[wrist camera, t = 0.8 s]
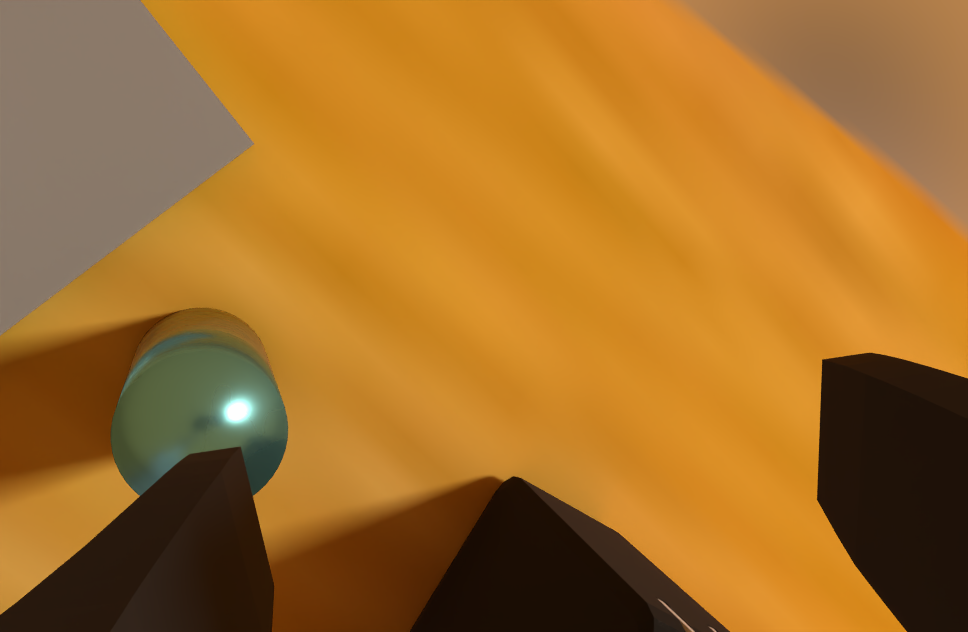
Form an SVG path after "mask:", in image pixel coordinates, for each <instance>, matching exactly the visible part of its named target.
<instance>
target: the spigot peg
mask: <svg viewBox="0 0 968 632" xmlns="http://www.w3.org/2000/svg"><path fill="white" fill-rule="evenodd" d="M287 438H288V422H287V415H286V411H285V407H284V404H283V401H282V398H281V395H280V392H279V389H278V387H277V384H276V381H275V378H274V375H273V372H272V369H271V366H270V363H269V360H268V357H267V354H266V352H265V349H264V347H263V344H262V342H261V341H260V339H259V337H258V336H257V335H256V333H255V332H254V331H253V330H252V329H251V328H250V327H249V326H248V325H247V324H246V323H245V322H243V321H242V320H241V319H239V318H237V317H236V316H234V315H232V314H229V313H227V312H224V311H221V310H217V309H211V308H192V309H186V310H182V311H179V312H176V313H173V314H171V315H169V316H167V317H165V318H164V319H162V320H161V321H159V322H158V323H156V324H155V325H154V326H153V327H152V328H151V329H150V330H149V331H148V332H147V333H146V335H145V336H144V337H143V339H142V340H141V342H140V344H139V346H138V348H137V350H136V353H135V355H134V358H133V361H132V364H131V367H130V370H129V373H128V375H127V378H126V381H125V384H124V387H123V390H122V393H121V395H120V398H119V401H118V404H117V407H116V410H115V413H114V416H113V420H112V426H111V446H112V453H113V456H114V460H115V463H116V465H117V467H118V469H119V472H120V473H121V475H122V476H123V478H124V480H125V481H126V482H127V483H128V485H129V486H130V487H131V488H132V489H133V490H134V491H135V492H136V493H137V494H138V495H140V496H141V495H142V494H143V493H144V492H145V491H146V490H147V489H149V488H150V487H151V486H152V485H153V484H154V483H155V482H156V481H157V480H158V479H160V478H161V477H162V476H163V475H164V474H165V473H166V472H167V471H169V470H170V469H171V468H172V467H173V466H174V465H176V464H177V463H178V462H179V461H180V460H182V459H183V458H185V457H186V456H187V455H189V454H192V453H199V452H206V451H213V450H219V449H226V448H233V447H240V446H241V450H242V454H243V458H244V462H245V467H246V471H247V475H248V479H249V483H250V487H251V492H252V496H253V495H255V494H256V493H257V492H258V491H259V490H261V489H262V488H263V487H264V486H265V485H266V484H267V482H268V481H269V480H270V479H271V478H272V476H273V475H274V473H275V472H276V470H277V468H278V467H279V464H280V462H281V460H282V458H283V455H284V452H285V449H286V444H287Z"/></svg>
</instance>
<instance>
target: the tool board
mask: <svg viewBox="0 0 968 632" xmlns="http://www.w3.org/2000/svg"><path fill="white" fill-rule="evenodd" d="M253 144H254V143H253V142H252V141H251V139H250V138H249V137H248V136H247V134H246V133H245V132H244V131H243V129H242V128H241V127H240V126H239V124H238V123H237V122H236V120H235V119H234V118H233V117H232V115H231V114H230V113H229V112H228V110H227V109H226V108H225V107H224V105H223V104H222V103H221V102H220V100H219V99H218V98H217V97H216V95H215V94H214V93H213V92H212V90H211V89H210V88H209V86H208V85H207V84H206V83H205V81H204V80H203V79H202V78H201V76H200V75H199V74H198V73H197V71H196V70H195V69H194V68H193V66H192V65H191V64H190V63H189V61H188V60H187V59H186V58H185V56H184V55H183V54H182V53H181V51H180V50H179V49H178V47H177V46H176V45H175V44H174V42H173V41H172V40H171V39H170V37H169V36H168V35H167V34H166V32H165V31H164V30H163V29H162V27H161V26H160V25H159V24H158V22H157V21H156V20H155V19H154V17H153V16H152V15H151V14H150V12H149V11H148V10H147V8H146V7H145V6H144V5H143V3H142V2H141V1H140V0H0V335H1V334H3V333H4V332H5V331H7V330H8V329H9V328H11V327H12V326H13V325H15V324H16V323H17V322H19V321H20V320H21V319H23V318H24V317H25V316H27V315H28V314H29V313H31V312H32V311H33V310H35V309H36V308H37V307H39V306H40V305H41V304H43V303H44V302H45V301H46V300H48V299H49V298H50V297H52V296H53V295H54V294H56V293H57V292H58V291H60V290H61V289H62V288H64V287H65V286H66V285H68V284H69V283H70V282H72V281H73V280H74V279H76V278H77V277H78V276H80V275H81V274H82V273H84V272H85V271H86V270H88V269H89V268H90V267H92V266H93V265H94V264H95V263H97V262H98V261H99V260H101V259H102V258H103V257H105V256H106V255H107V254H109V253H110V252H111V251H113V250H114V249H115V248H117V247H118V246H119V245H121V244H122V243H123V242H125V241H126V240H127V239H129V238H130V237H131V236H133V235H134V234H135V233H137V232H138V231H139V230H141V229H142V228H143V227H144V226H146V225H147V224H148V223H150V222H151V221H152V220H154V219H155V218H156V217H158V216H159V215H160V214H162V213H163V212H164V211H166V210H167V209H168V208H170V207H171V206H172V205H174V204H175V203H176V202H178V201H179V200H180V199H182V198H183V197H184V196H186V195H187V194H188V193H190V192H191V191H192V190H193V189H195V188H196V187H197V186H199V185H200V184H201V183H203V182H204V181H205V180H207V179H208V178H209V177H211V176H212V175H213V174H215V173H216V172H217V171H219V170H220V169H221V168H223V167H224V166H225V165H227V164H228V163H229V162H231V161H232V160H233V159H235V158H236V157H237V156H239V155H240V154H241V153H242V152H244V151H245V150H246V149H248V148H249V147H250V146H252V145H253Z"/></svg>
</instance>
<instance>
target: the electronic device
mask: <svg viewBox="0 0 968 632" xmlns="http://www.w3.org/2000/svg"><path fill="white" fill-rule="evenodd" d="M410 632H730V631H728V630H727V629H726V628H725V627H724V626H723V625H722V624H721V623H719V622H718V621H717V620H716V619H715V618H714V617H713V616H711V615H710V614H709V613H708V612H707V611H706V610H705V609H704V608H702V607H701V606H700V605H699V604H698V603H697V602H696V601H695V600H693V599H692V598H691V597H690V596H689V595H688V594H687V593H686V592H684V591H683V590H682V589H681V588H680V587H679V586H678V585H677V584H675V583H674V582H673V581H672V580H671V579H670V578H669V577H667V576H666V575H665V574H664V573H663V572H662V571H661V570H660V569H658V568H657V567H656V566H655V565H654V564H653V563H652V562H651V561H649V560H648V559H647V558H646V557H645V556H644V555H643V554H642V553H640V552H639V551H638V550H637V549H636V548H635V547H634V546H633V545H631V544H630V543H629V542H628V541H627V540H626V539H625V538H624V537H622V536H621V535H620V534H619V533H618V532H616V531H614V530H613V529H611V528H609V527H607V526H605V525H604V524H602V523H600V522H598V521H596V520H595V519H593V518H591V517H589V516H588V515H586V514H584V513H582V512H580V511H579V510H577V509H575V508H573V507H571V506H570V505H568V504H566V503H564V502H563V501H561V500H559V499H557V498H555V497H554V496H552V495H550V494H548V493H547V492H545V491H543V490H541V489H539V488H538V487H536V486H534V485H532V484H530V483H529V482H527V481H525V480H523V479H522V478H519V477H514V476H513V477H511V478H510V479H508V480H506V481H505V482H504V483H503V484H502V485H501V486H500V488H499V489H498V490H497V491H496V493H495V494H494V496H493V497H492V499H491V500H490V502H489V504H488V505H487V507H486V509H485V510H484V512H483V513H482V515H481V517H480V518H479V520H478V522H477V523H476V525H475V526H474V528H473V530H472V531H471V533H470V535H469V536H468V538H467V539H466V541H465V543H464V544H463V546H462V548H461V549H460V551H459V552H458V554H457V556H456V557H455V559H454V561H453V562H452V564H451V565H450V567H449V569H448V570H447V572H446V574H445V575H444V577H443V578H442V580H441V582H440V583H439V585H438V587H437V588H436V590H435V591H434V593H433V595H432V596H431V598H430V600H429V601H428V603H427V604H426V606H425V608H424V609H423V611H422V613H421V614H420V616H419V617H418V619H417V621H416V622H415V624H414V626H413V627H412V629H411V630H410Z"/></svg>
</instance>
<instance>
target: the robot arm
mask: <svg viewBox="0 0 968 632" xmlns="http://www.w3.org/2000/svg"><path fill="white" fill-rule="evenodd" d="M817 500H818V502H819V504H820V506H821V507H822V509H823V511H824V513H825V515H826V516H827V518H828V520H829V522H830V524H831V525H832V527H833V529H834V531H835V533H836V534H837V536H838V538H839V539H840V541H841V543H842V544H843V546H844V548H845V549H846V551H847V553H848V554H849V556H850V558H851V559H852V561H853V562H854V564H855V566H856V567H857V568H858V570H859V571H860V572H861V573H862V575H863V576H864V577H865V579H866V580H867V581H868V583H869V584H870V585H871V586H872V588H873V589H874V590H875V592H876V593H877V594H878V595H879V597H880V598H881V599H882V601H883V602H884V603H885V604H886V606H887V607H888V608H889V609H890V611H891V612H892V613H893V615H894V616H895V617H896V618H897V620H898V621H899V622H900V623H901V625H902V626H903V627H904V628H905V630H906V631H907V632H968V379H967V378H964V377H961V376H958V375H954V374H951V373H948V372H945V371H942V370H938V369H935V368H932V367H928V366H925V365H921V364H918V363H914V362H911V361H907V360H903V359H899V358H895V357H891V356H886V355H881V354H875V353H864V354H857V355H851V356H844V357H837V358H830V359H824V360H822V383H821V410H820V437H819V464H818V490H817ZM273 600H274V583H273V579H272V575H271V570H270V566H269V562H268V558H267V554H266V550H265V546H264V541H263V537H262V533H261V529H260V525H259V521H258V516H257V512H256V508H255V504H254V500H253V496H252V492H251V487H250V483H249V479H248V475H247V471H246V467H245V462H244V458H243V454H242V450H241V446H240V447H233V448H226V449H219V450H213V451H206V452H199V453H192V454H189V455H187V456H186V457H185V458H183V459H182V460H180V461H179V462H178V463H177V464H176V465H174V466H173V467H172V468H171V469H170V470H169V471H167V472H166V473H165V474H164V475H163V476H162V477H161V478H160V479H158V480H157V481H156V482H155V483H154V484H153V485H152V486H151V487H150V488H149V489H147V490H146V491H145V492H144V493H143V494H142V495H141V496H140V497H139V498H138V499H137V500H135V501H134V502H133V503H132V504H131V505H130V506H129V507H128V508H127V509H126V510H124V511H123V512H122V513H121V514H120V515H119V516H118V517H117V518H116V519H114V520H113V521H112V522H111V523H110V524H109V525H108V526H107V527H106V528H104V529H103V530H102V531H101V532H100V533H99V534H98V535H97V536H96V537H94V538H93V539H92V540H91V541H90V542H89V543H88V544H87V545H85V546H84V547H83V548H82V549H81V550H80V551H78V552H77V553H76V554H75V555H74V556H72V557H71V558H70V559H69V560H67V561H66V562H65V563H64V564H63V565H61V566H60V567H59V568H58V569H57V570H55V571H54V572H53V573H52V574H50V575H49V576H48V577H47V578H46V579H44V580H43V581H42V582H41V583H40V584H38V585H37V586H36V587H35V588H34V589H32V590H31V591H30V592H29V593H27V594H26V595H25V596H24V597H23V598H21V599H20V600H19V601H18V602H17V603H15V604H14V605H13V606H11V607H10V608H9V609H7V610H6V611H5V612H3V613H2V614H1V615H0V632H272V617H273Z"/></svg>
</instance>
